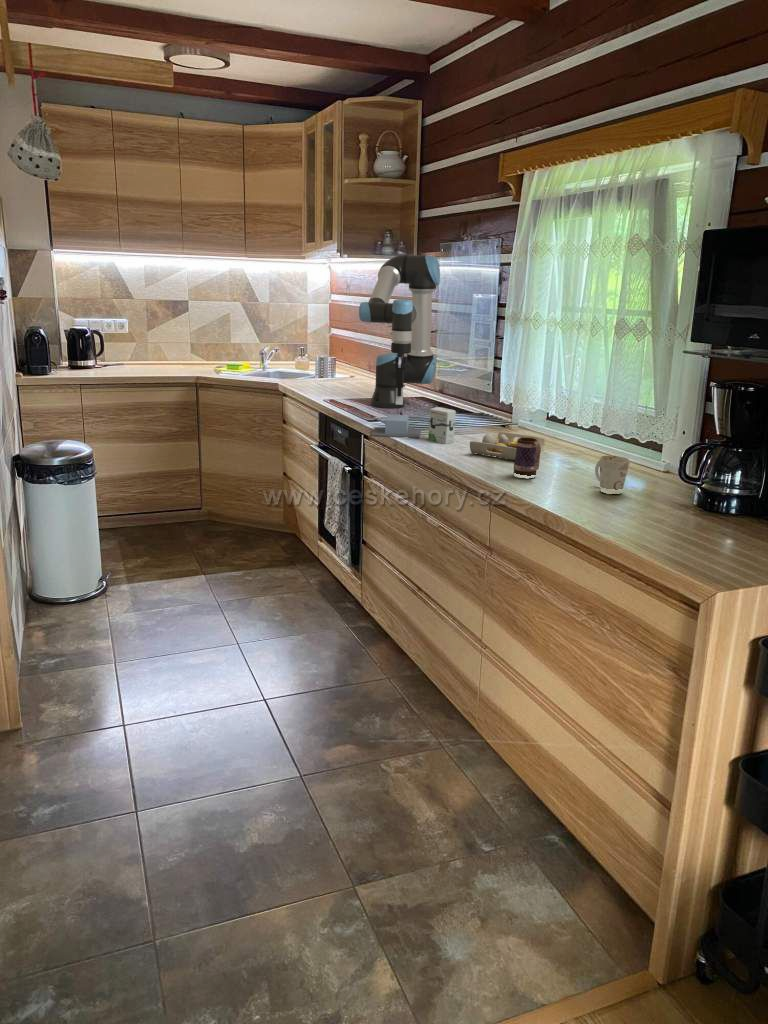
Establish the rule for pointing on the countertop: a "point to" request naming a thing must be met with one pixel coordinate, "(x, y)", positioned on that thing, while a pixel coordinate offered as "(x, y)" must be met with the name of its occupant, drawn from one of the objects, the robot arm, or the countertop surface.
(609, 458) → the mug
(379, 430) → the mat
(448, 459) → the countertop surface
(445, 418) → the ink box
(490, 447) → the toy food set
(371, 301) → the robot arm
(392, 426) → the block
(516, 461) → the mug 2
